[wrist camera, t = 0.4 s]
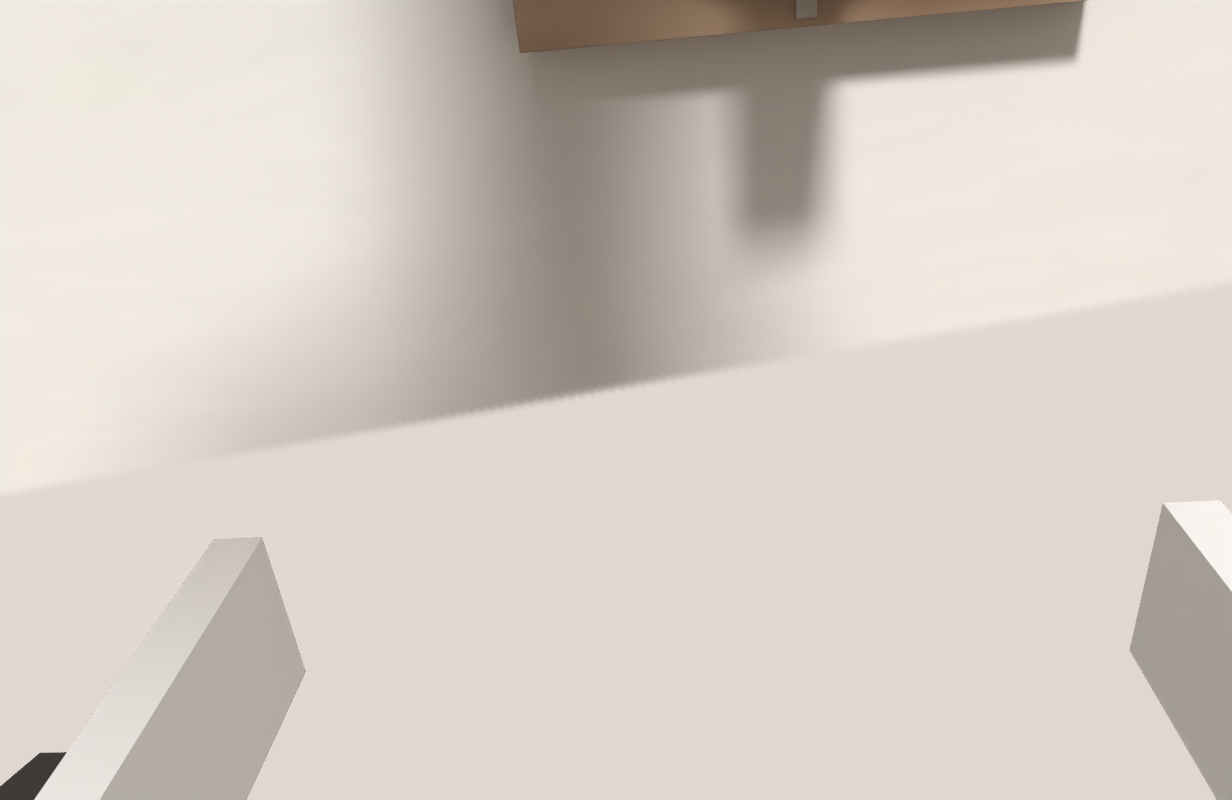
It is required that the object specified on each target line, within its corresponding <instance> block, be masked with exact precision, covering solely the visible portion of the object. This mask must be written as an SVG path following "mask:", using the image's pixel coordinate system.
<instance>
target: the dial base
mask: <svg viewBox="0 0 1232 800" xmlns="http://www.w3.org/2000/svg"><path fill="white" fill-rule="evenodd" d="M1074 1H1085V0H513V4H514V12H515V19H516V26H517V34H518V41H519V49H520V53H526V52H537V51H548V50H558V49H569V48H580V47H591V46H601V45H612V44H623V43H634V42H644V41H655V40H666V39H677V38H687V37H698V36H709V35H720V34H730V33H741V32H752V31H763V30H773V29H784V28H795V27H805V26H816V25H827V24H838V23H848V22H859V21H870V20H881V19H891V18H902V17H913V16H924V15H934V14H945V13H956V12H967V11H977V10H988V9H999V8H1010V7H1020V6H1031V5H1042V4H1053V3H1063V2H1074Z"/></svg>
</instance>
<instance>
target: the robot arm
mask: <svg viewBox="0 0 1232 800" xmlns="http://www.w3.org/2000/svg"><path fill="white" fill-rule="evenodd" d="M1130 652H1131V654H1132V655H1133V657H1134V659H1135V660H1136V662H1137V664H1138V666H1139V667H1140V669H1141V671H1142V673H1143V674H1144V676H1145V678H1146V679H1147V681H1148V683H1149V684H1150V686H1151V688H1152V690H1153V691H1154V693H1155V695H1156V696H1157V698H1158V700H1159V701H1160V703H1161V705H1162V707H1163V708H1164V710H1165V712H1166V714H1167V715H1168V717H1169V719H1170V720H1171V722H1172V724H1173V725H1174V727H1175V729H1176V731H1177V732H1178V734H1179V736H1180V737H1181V739H1182V741H1183V742H1184V744H1185V746H1186V748H1187V749H1188V751H1189V753H1190V755H1191V756H1192V758H1193V759H1194V761H1195V763H1196V765H1197V767H1198V768H1199V770H1200V772H1201V773H1202V775H1203V777H1204V778H1205V780H1206V782H1207V783H1208V785H1209V787H1210V789H1211V790H1212V792H1213V794H1214V796H1215V797H1216V799H1217V800H1232V514H1231V512H1230V511H1229V510H1228V509H1227V508H1226V507H1225V505H1223V503H1222V502H1221V501H1199V502H1174V503H1163V505H1162V509H1161V514H1160V518H1159V523H1158V527H1157V532H1156V536H1155V540H1154V545H1153V549H1152V554H1151V558H1150V562H1149V567H1148V571H1147V575H1146V580H1145V584H1144V589H1143V593H1142V598H1141V602H1140V607H1139V611H1138V615H1137V620H1136V625H1135V629H1134V633H1133V637H1132V642H1131V646H1130ZM305 672H306V671H305V668H304V665H303V662H302V659H301V656H300V653H299V650H298V647H297V644H296V640H295V637H294V634H293V631H292V628H291V625H290V622H289V619H288V616H287V613H286V610H285V607H284V604H283V601H282V597H281V594H280V591H279V588H278V585H277V582H276V579H275V576H274V573H273V570H272V567H271V564H270V560H269V558H268V554H267V551H266V548H265V545H264V542H263V539H262V538H238V539H214V540H213V541H212V543H211V544H210V546H209V547H208V549H207V550H206V551H205V553H204V555H203V556H202V557H201V559H200V560H199V562H198V563H197V565H196V566H195V568H194V569H193V571H192V572H191V573H190V575H189V576H188V578H187V579H186V580H185V582H184V583H183V585H182V587H181V588H180V589H179V591H178V592H177V594H176V595H175V597H174V598H173V599H172V601H171V602H170V604H169V605H168V607H167V608H166V609H165V611H164V612H163V614H162V615H161V617H160V618H159V620H158V621H157V623H156V624H155V625H154V627H153V628H152V630H151V631H150V633H149V634H148V636H147V637H146V639H145V640H144V641H143V643H142V644H141V646H140V647H139V649H138V650H137V651H136V653H135V654H134V656H133V657H132V659H131V660H130V662H129V663H128V665H127V666H126V668H125V669H124V670H123V672H122V673H121V675H120V676H119V678H118V679H117V680H116V682H115V683H114V685H113V686H112V688H111V689H110V691H109V692H108V694H107V695H106V696H105V698H104V699H103V701H102V702H101V704H100V705H99V707H98V708H97V709H96V711H95V712H94V714H93V715H92V717H91V718H90V720H89V721H88V722H87V724H86V725H85V727H84V728H83V730H82V731H81V733H80V734H79V736H78V737H77V738H76V740H75V741H74V743H73V744H72V746H71V747H70V749H69V750H68V751H67V752H64V753H39V754H38V755H37V756H36V757H35V758H33V759H32V760H31V761H30V762H29V763H27V764H26V765H25V766H24V767H23V768H21V770H19V771H18V772H17V773H16V774H14V775H13V776H12V777H11V778H10V779H9V780H7V781H6V782H5V783H4V784H3V785H2V786H0V800H247V797H248V795H249V793H250V791H251V788H252V786H253V784H254V782H255V780H256V778H257V776H258V774H259V771H260V769H261V767H262V765H263V763H264V760H265V758H266V756H267V754H268V752H269V750H270V747H271V745H272V743H273V741H274V739H275V737H276V734H277V732H278V730H279V728H280V726H281V723H282V721H283V719H284V717H285V715H286V712H287V711H288V708H289V706H290V704H291V702H292V700H293V697H294V695H295V693H296V691H297V689H298V687H299V685H300V682H301V680H302V678H303V676H304V674H305Z"/></svg>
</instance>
